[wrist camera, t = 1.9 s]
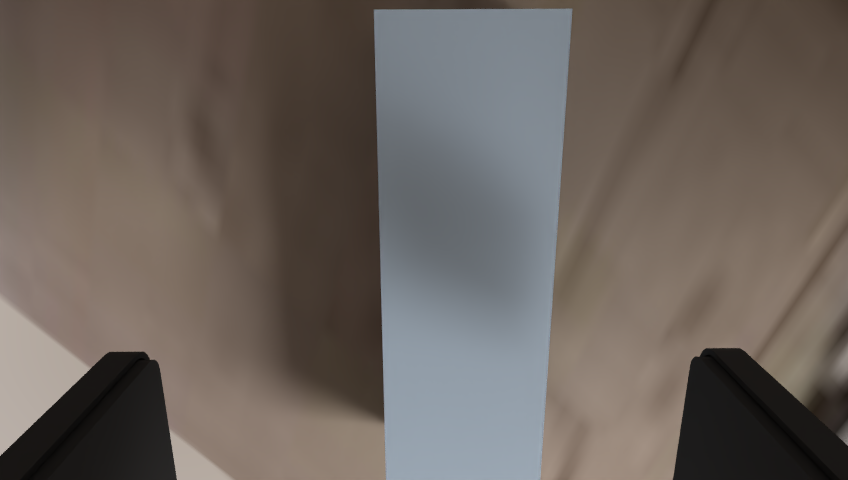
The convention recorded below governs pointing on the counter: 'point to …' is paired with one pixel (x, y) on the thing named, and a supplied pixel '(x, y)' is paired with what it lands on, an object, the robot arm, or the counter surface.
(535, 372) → the slate slat
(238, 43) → the counter surface
